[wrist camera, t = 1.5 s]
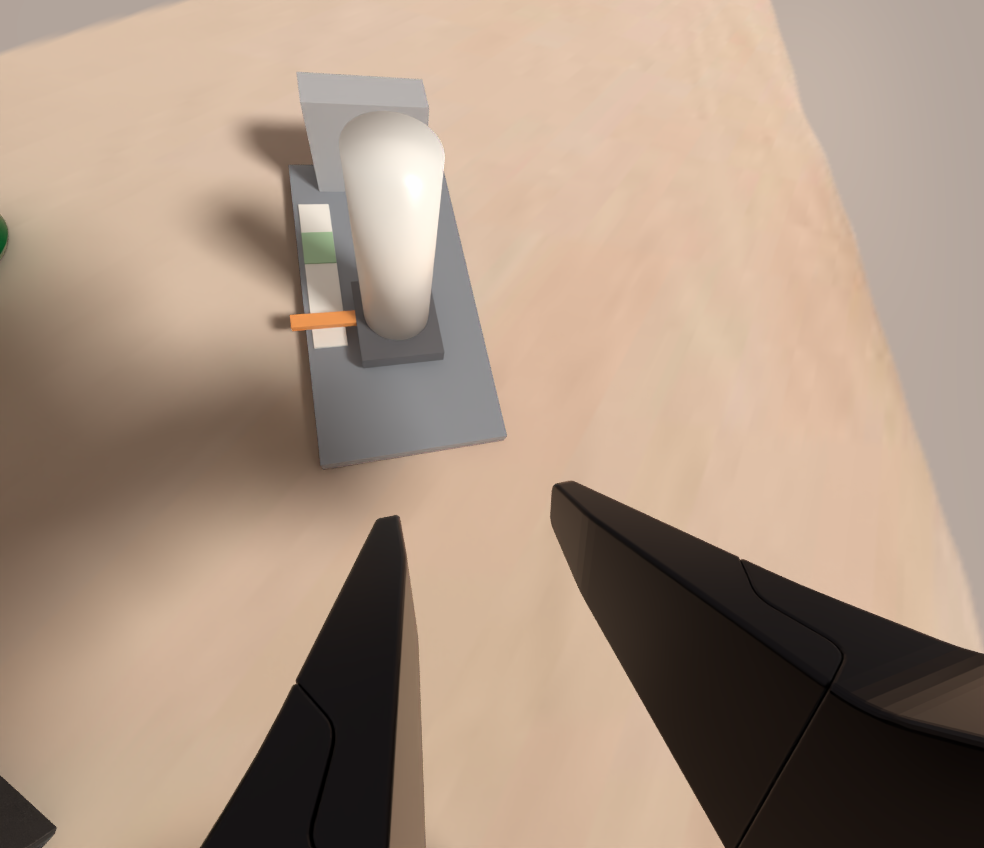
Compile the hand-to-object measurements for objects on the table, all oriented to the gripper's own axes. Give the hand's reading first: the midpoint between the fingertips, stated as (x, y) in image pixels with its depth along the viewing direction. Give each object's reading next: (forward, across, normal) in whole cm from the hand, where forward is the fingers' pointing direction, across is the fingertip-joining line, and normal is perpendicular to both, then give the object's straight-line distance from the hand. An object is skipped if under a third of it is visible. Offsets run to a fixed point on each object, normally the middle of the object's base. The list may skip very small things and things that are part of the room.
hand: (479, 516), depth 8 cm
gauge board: (+18, 0, -1) cm, 19 cm away
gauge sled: (+16, +1, 0) cm, 16 cm away
